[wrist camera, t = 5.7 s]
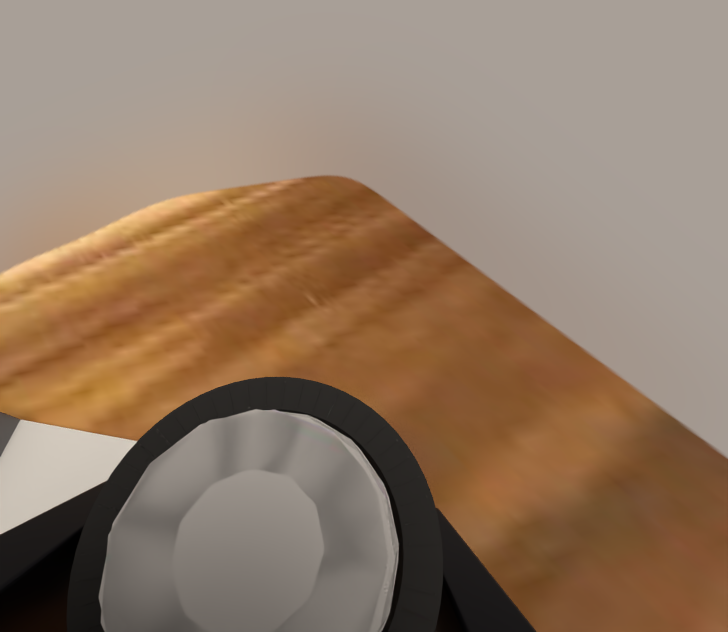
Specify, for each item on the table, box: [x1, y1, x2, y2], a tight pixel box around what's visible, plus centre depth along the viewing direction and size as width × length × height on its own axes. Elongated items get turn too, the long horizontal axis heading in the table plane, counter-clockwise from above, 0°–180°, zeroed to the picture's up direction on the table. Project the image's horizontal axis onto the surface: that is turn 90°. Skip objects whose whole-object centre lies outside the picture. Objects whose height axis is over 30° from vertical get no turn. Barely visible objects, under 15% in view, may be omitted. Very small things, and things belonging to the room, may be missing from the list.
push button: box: [67, 377, 443, 632], centre depth 9 cm, size 7×5×10 cm
